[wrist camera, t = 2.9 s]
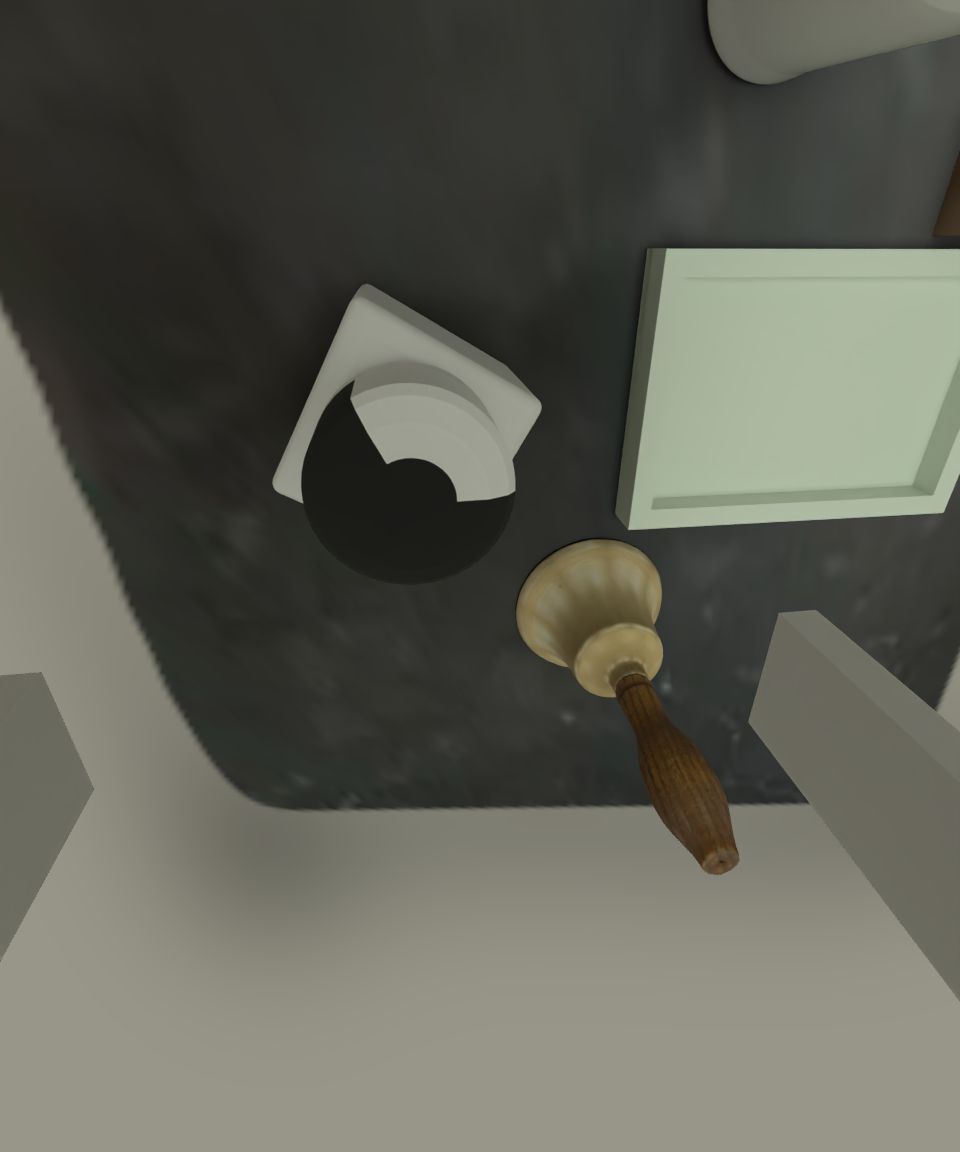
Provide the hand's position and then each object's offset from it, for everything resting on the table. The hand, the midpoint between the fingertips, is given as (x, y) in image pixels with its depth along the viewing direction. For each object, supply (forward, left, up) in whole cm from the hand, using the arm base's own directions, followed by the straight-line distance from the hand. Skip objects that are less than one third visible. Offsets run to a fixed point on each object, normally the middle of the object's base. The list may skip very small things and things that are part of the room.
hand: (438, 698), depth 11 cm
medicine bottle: (-1, 0, -19) cm, 19 cm away
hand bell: (+10, +9, -19) cm, 23 cm away
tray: (-1, +19, -19) cm, 26 cm away
